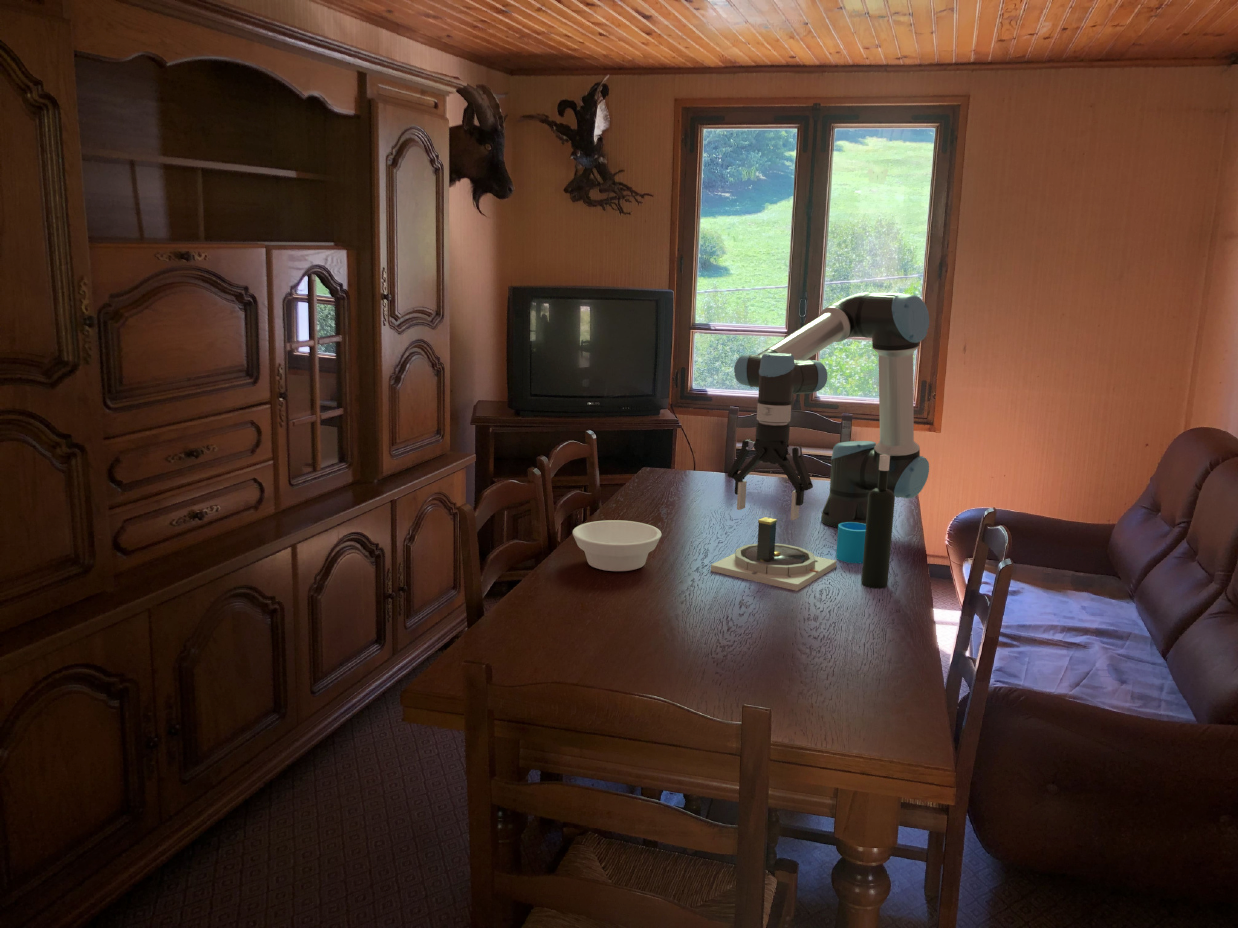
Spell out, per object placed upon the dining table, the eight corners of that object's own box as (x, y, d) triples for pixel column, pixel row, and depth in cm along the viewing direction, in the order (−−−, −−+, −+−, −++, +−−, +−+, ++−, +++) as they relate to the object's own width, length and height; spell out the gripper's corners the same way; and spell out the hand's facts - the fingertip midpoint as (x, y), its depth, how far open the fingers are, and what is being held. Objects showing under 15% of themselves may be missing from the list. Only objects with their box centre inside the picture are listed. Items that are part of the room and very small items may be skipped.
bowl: (673, 559, 233) (675, 527, 231) (638, 584, 214) (639, 549, 213) (596, 547, 242) (596, 515, 240) (556, 570, 223) (556, 536, 221)
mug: (868, 565, 232) (870, 532, 230) (833, 561, 235) (836, 528, 233) (872, 551, 243) (875, 520, 242) (839, 547, 246) (842, 517, 244)
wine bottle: (888, 581, 220) (899, 453, 214) (886, 589, 215) (897, 458, 208) (862, 578, 222) (872, 451, 216) (860, 586, 216) (870, 456, 210)
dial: (761, 548, 237) (763, 504, 234) (814, 559, 229) (817, 514, 226) (734, 562, 225) (736, 516, 223) (788, 574, 218) (791, 526, 215)
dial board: (754, 549, 242) (754, 536, 242) (836, 566, 230) (837, 552, 229) (710, 570, 225) (711, 556, 224) (797, 590, 212) (798, 575, 212)
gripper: (716, 417, 220) (711, 507, 224) (818, 431, 206) (810, 526, 210) (732, 414, 226) (727, 501, 230) (831, 427, 212) (824, 519, 216)
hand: (767, 513), depth 220 cm, fingers open, 13 cm apart
